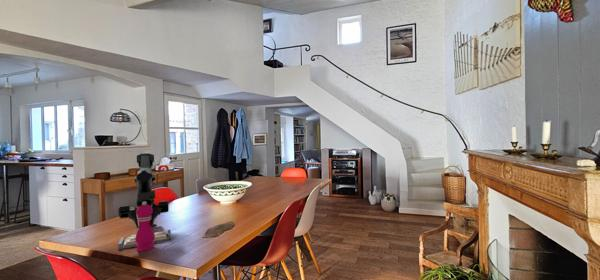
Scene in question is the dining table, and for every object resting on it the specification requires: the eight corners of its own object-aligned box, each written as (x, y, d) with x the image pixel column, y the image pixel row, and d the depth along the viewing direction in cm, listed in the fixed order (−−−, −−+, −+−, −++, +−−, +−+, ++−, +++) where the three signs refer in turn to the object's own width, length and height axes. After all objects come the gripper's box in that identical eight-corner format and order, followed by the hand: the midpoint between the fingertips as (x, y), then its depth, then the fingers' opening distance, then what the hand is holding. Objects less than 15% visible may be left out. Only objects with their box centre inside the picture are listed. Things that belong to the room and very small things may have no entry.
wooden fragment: (213, 239, 122) (213, 237, 122) (193, 237, 126) (193, 235, 126) (243, 222, 146) (243, 220, 146) (225, 221, 150) (225, 219, 150)
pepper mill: (146, 252, 109) (145, 203, 109) (131, 251, 111) (130, 202, 111) (159, 245, 117) (157, 199, 116) (144, 244, 118) (143, 198, 118)
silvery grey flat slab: (121, 243, 121) (120, 237, 121) (170, 234, 130) (170, 229, 130) (118, 249, 113) (118, 244, 113) (171, 240, 122) (170, 234, 122)
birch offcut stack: (125, 240, 121) (125, 235, 121) (166, 233, 129) (166, 228, 129) (123, 246, 114) (123, 240, 114) (166, 238, 122) (166, 233, 122)
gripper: (118, 187, 113) (115, 220, 103) (167, 182, 121) (169, 212, 112) (121, 202, 120) (118, 234, 110) (167, 197, 128) (169, 226, 119)
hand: (144, 226), depth 112 cm, fingers closed on pepper mill, 5 cm apart
